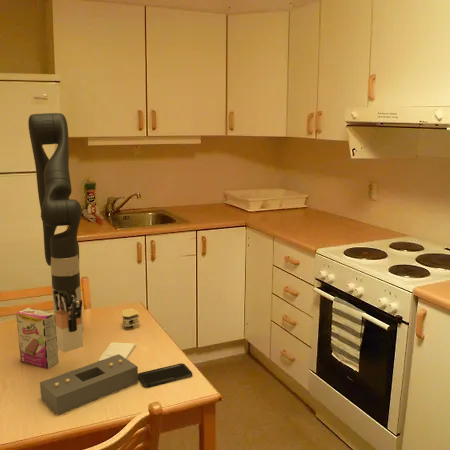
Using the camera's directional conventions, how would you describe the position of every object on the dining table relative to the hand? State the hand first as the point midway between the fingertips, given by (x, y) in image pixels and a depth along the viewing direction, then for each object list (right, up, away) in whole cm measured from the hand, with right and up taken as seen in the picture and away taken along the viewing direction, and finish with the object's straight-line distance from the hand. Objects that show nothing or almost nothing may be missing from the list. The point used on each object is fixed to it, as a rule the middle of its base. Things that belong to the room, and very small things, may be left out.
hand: (69, 328), depth 147 cm
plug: (0, -6, +1) cm, 6 cm away
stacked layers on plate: (+10, -7, +38) cm, 40 cm away
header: (+7, -16, -5) cm, 18 cm away
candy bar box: (-12, -13, +11) cm, 21 cm away
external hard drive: (+10, -12, +17) cm, 23 cm away
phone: (+27, -15, +3) cm, 31 cm away
